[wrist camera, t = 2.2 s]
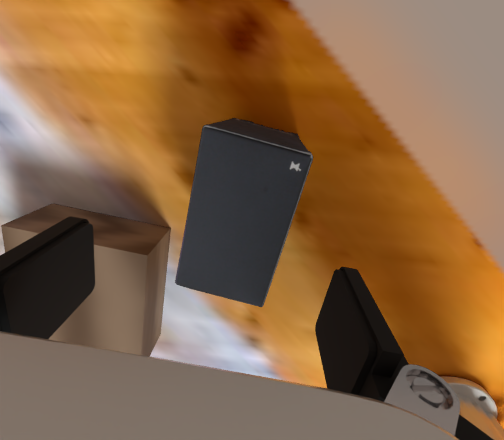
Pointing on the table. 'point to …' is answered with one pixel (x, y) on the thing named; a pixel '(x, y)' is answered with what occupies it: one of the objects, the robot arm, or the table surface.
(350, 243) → the table surface
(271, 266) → the small box
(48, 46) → the table surface
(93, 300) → the walnut block
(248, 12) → the table surface
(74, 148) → the table surface
